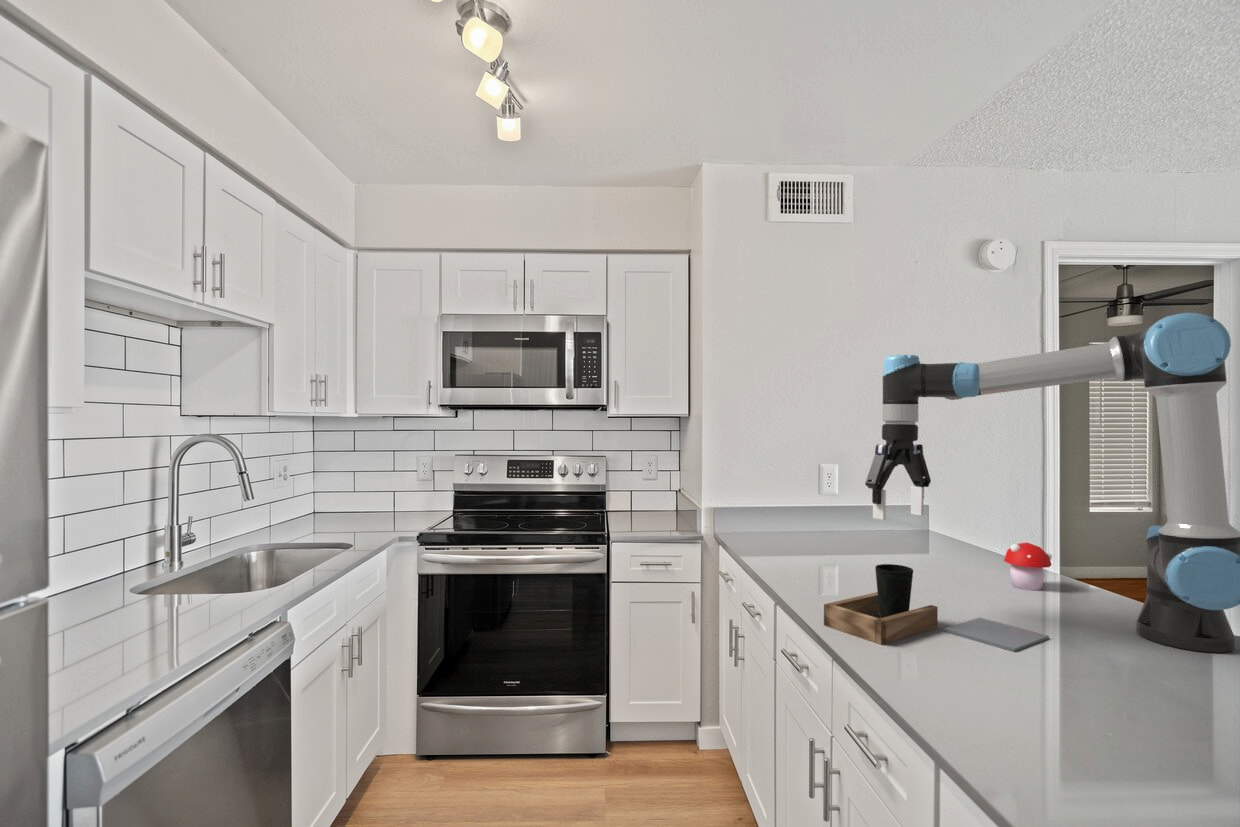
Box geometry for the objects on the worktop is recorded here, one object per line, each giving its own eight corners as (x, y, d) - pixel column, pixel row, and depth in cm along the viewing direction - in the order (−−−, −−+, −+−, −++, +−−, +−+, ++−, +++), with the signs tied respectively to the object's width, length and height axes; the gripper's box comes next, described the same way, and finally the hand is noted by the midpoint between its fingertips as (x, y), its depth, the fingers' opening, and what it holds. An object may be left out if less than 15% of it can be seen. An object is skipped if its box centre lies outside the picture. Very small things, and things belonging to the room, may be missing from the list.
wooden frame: (937, 627, 138) (937, 606, 138) (881, 644, 127) (881, 621, 127) (879, 610, 149) (879, 591, 149) (823, 625, 139) (823, 604, 139)
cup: (916, 629, 136) (917, 573, 136) (878, 627, 138) (879, 571, 138) (908, 618, 144) (908, 565, 144) (872, 616, 145) (872, 563, 145)
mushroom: (1037, 582, 176) (1037, 539, 176) (1061, 593, 165) (1061, 547, 166) (996, 581, 177) (996, 538, 177) (1017, 592, 166) (1017, 546, 167)
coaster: (1048, 638, 131) (1048, 635, 131) (1014, 651, 124) (1014, 648, 124) (979, 620, 143) (979, 617, 143) (943, 631, 135) (943, 628, 135)
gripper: (918, 423, 156) (917, 510, 156) (849, 422, 143) (848, 517, 143) (948, 424, 149) (946, 515, 149) (878, 423, 137) (876, 523, 137)
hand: (898, 516), depth 146 cm, fingers open, 13 cm apart
